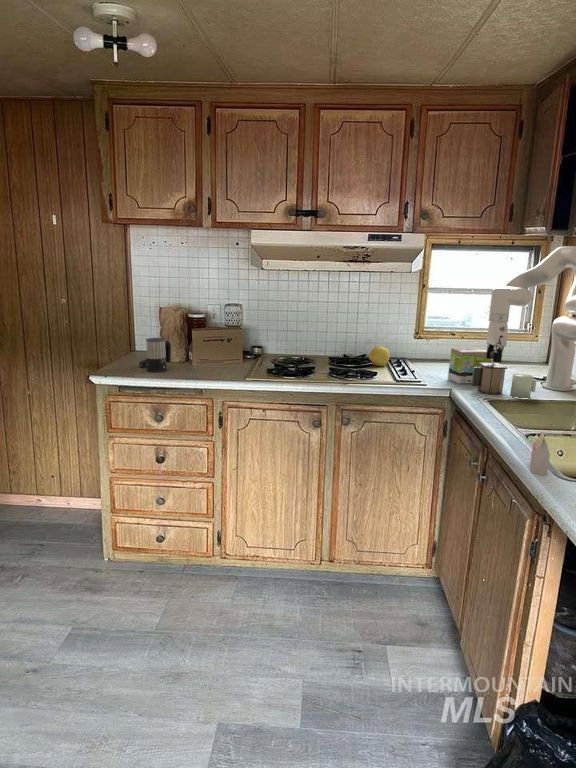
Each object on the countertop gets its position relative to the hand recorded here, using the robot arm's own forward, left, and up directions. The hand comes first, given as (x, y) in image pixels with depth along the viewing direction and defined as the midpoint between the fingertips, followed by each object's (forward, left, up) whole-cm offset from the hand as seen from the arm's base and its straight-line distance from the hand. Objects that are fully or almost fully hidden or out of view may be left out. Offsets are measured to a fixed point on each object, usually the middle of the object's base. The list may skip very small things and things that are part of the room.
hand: (493, 360), depth 221 cm
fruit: (+39, -49, -14) cm, 64 cm away
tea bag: (+19, +84, -14) cm, 87 cm away
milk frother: (+150, -28, -14) cm, 153 cm away
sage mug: (-10, +7, -14) cm, 18 cm away
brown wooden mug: (+1, 0, -14) cm, 14 cm away
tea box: (+3, -19, -14) cm, 24 cm away
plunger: (0, 0, -12) cm, 12 cm away
